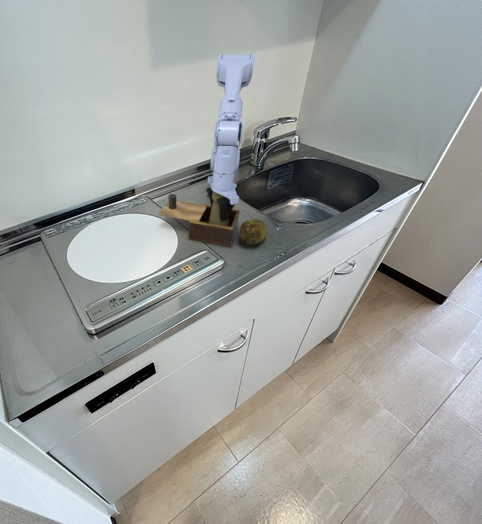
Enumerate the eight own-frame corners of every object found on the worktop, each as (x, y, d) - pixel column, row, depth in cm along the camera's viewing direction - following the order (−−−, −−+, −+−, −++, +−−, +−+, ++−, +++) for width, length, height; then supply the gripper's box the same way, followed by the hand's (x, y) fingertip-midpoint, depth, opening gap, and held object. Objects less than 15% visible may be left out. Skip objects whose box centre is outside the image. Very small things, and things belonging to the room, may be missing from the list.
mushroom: (210, 217, 87) (213, 184, 80) (229, 220, 86) (234, 186, 79) (206, 227, 83) (208, 193, 76) (226, 230, 81) (231, 195, 74)
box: (199, 221, 93) (200, 203, 88) (237, 227, 89) (240, 209, 85) (189, 239, 84) (189, 221, 80) (230, 247, 81) (233, 228, 77)
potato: (276, 238, 84) (283, 215, 79) (251, 256, 78) (256, 232, 73) (253, 227, 89) (258, 205, 84) (227, 243, 83) (230, 220, 77)
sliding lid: (169, 201, 91) (169, 187, 88) (207, 207, 87) (208, 193, 84) (158, 215, 84) (157, 201, 81) (198, 222, 81) (199, 208, 78)
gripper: (252, 178, 69) (244, 225, 78) (224, 159, 80) (220, 202, 89) (227, 183, 67) (221, 230, 76) (202, 162, 78) (199, 206, 87)
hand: (219, 215), depth 82 cm, fingers closed on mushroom, 5 cm apart
